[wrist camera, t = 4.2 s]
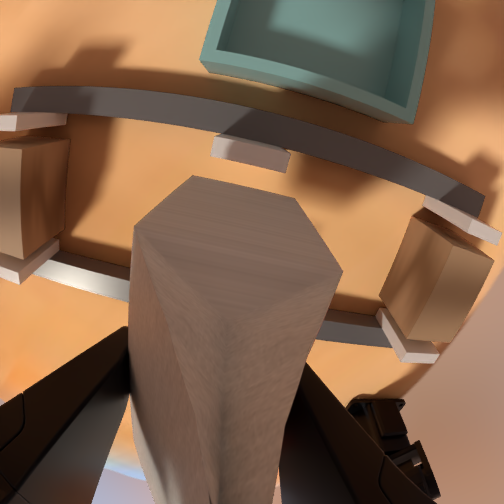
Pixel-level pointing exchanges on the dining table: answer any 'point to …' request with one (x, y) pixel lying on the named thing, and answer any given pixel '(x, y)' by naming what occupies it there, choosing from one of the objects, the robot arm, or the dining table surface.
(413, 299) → the walnut block
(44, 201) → the walnut block
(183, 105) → the clip holder
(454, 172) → the dining table surface
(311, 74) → the teal tray
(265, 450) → the tea bag
